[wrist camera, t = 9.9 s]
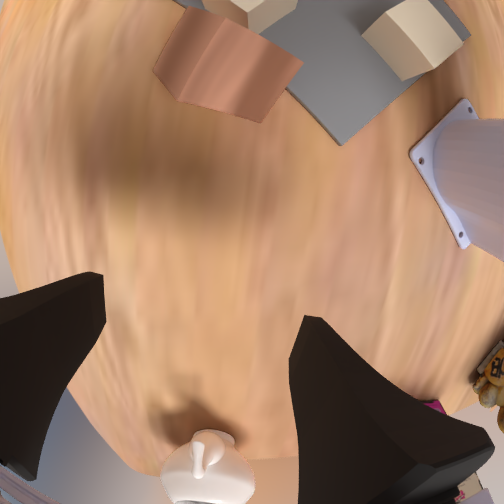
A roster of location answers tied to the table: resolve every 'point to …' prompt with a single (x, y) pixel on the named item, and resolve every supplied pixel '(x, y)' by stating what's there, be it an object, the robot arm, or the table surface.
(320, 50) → the puzzle board
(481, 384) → the decorative figurine
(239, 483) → the teapot
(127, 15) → the table surface
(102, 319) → the robot arm
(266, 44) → the terracotta block
